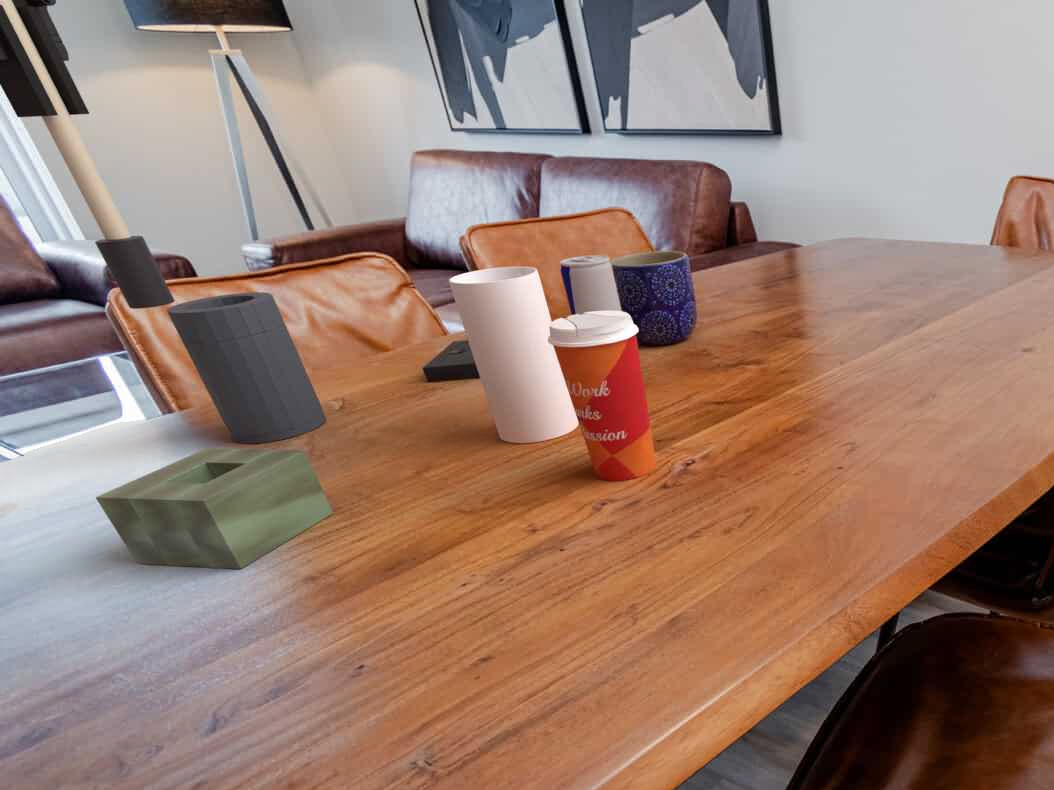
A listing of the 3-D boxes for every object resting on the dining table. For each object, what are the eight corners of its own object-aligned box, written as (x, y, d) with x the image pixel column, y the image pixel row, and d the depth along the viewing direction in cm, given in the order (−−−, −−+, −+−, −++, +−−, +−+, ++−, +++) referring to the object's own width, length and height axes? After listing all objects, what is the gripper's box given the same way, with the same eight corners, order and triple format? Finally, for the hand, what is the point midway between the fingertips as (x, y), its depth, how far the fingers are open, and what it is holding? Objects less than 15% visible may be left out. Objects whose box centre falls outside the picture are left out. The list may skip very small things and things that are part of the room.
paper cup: (569, 472, 79) (527, 322, 71) (639, 447, 83) (606, 305, 76) (612, 493, 74) (572, 335, 67) (683, 465, 79) (653, 315, 71)
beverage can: (603, 381, 103) (572, 254, 95) (645, 381, 103) (617, 253, 95) (583, 395, 99) (548, 263, 91) (626, 395, 98) (596, 262, 90)
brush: (120, 308, 67) (-73, -51, 54) (156, 299, 69) (-20, -46, 57) (148, 309, 66) (-40, -55, 54) (184, 300, 68) (11, -50, 56)
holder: (136, 564, 67) (94, 497, 64) (239, 509, 75) (206, 448, 72) (241, 569, 65) (203, 500, 62) (334, 513, 73) (304, 450, 70)
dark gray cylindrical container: (212, 443, 91) (143, 313, 83) (278, 414, 99) (220, 292, 91) (283, 444, 89) (220, 312, 82) (344, 415, 97) (292, 291, 90)
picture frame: (584, 343, 120) (457, 354, 118) (580, 327, 119) (452, 338, 117) (567, 369, 109) (427, 382, 107) (562, 352, 107) (420, 365, 106)
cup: (558, 410, 94) (517, 263, 86) (592, 427, 89) (551, 271, 81) (487, 431, 90) (436, 277, 81) (518, 449, 85) (466, 287, 76)
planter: (632, 333, 124) (615, 254, 118) (705, 327, 124) (691, 248, 118) (619, 353, 115) (599, 268, 109) (698, 346, 115) (683, 262, 109)
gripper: (-318, -427, 41) (-16, 118, 54) (0, -314, 53) (186, 109, 66) (-423, -404, 42) (-104, 123, 55) (-89, -299, 54) (109, 113, 67)
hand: (53, 114), depth 60 cm, fingers closed on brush, 2 cm apart
